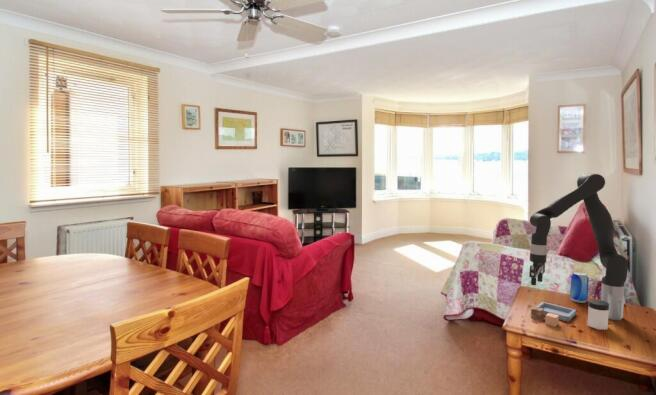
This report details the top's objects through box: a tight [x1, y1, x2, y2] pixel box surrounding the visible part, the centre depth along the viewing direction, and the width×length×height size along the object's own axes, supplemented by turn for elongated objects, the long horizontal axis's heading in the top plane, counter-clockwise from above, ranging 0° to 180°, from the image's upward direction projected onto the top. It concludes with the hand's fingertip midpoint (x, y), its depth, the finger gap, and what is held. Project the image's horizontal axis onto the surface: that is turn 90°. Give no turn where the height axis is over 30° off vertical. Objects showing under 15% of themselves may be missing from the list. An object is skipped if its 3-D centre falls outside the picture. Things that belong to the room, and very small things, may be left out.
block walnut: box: [530, 305, 544, 320], centre depth 194 cm, size 4×4×4 cm
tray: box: [535, 301, 577, 323], centre depth 198 cm, size 16×13×2 cm
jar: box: [586, 298, 609, 331], centre depth 183 cm, size 9×8×12 cm
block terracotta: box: [544, 313, 560, 328], centre depth 186 cm, size 4×4×4 cm
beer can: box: [569, 271, 590, 304], centre depth 215 cm, size 8×8×16 cm
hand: (536, 283), depth 195 cm, fingers open, 8 cm apart
